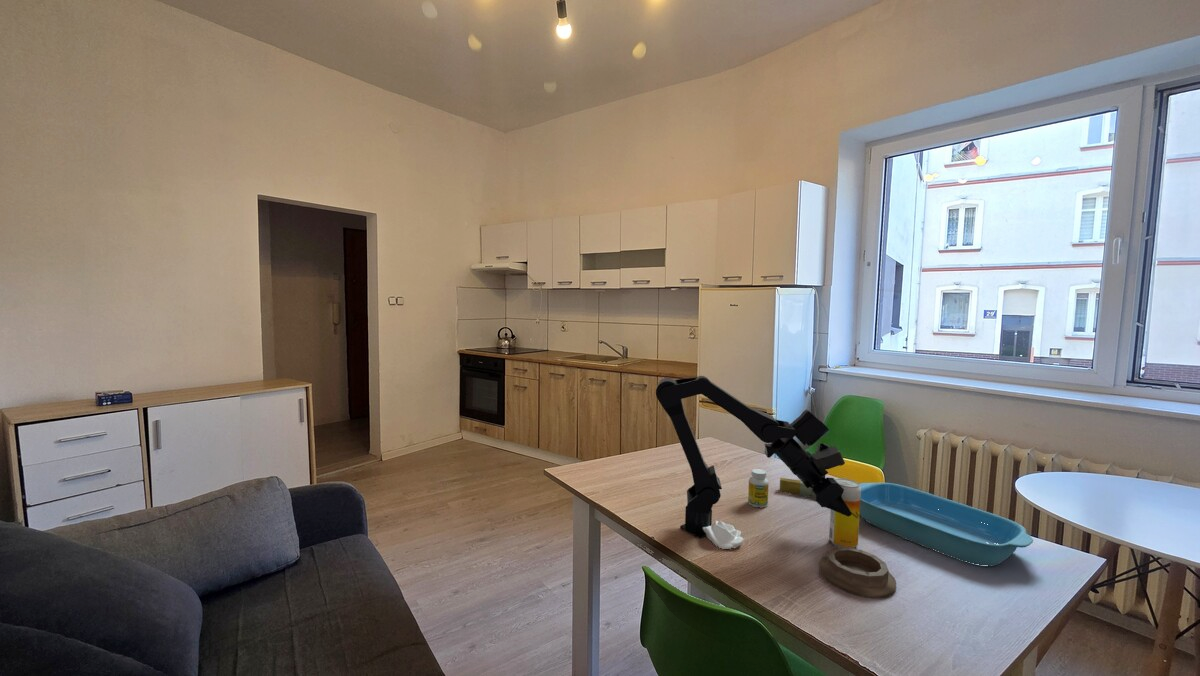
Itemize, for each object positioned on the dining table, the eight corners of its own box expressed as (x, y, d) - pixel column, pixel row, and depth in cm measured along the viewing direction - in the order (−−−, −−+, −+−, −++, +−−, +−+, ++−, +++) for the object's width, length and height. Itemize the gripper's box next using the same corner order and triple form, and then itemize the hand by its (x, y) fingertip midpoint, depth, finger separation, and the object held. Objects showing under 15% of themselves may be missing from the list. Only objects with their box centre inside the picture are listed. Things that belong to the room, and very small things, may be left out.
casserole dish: (1044, 557, 106) (1046, 527, 105) (1010, 587, 94) (1013, 553, 93) (876, 499, 137) (878, 476, 136) (834, 516, 124) (836, 491, 124)
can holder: (878, 607, 86) (880, 589, 86) (806, 572, 97) (807, 556, 97) (907, 581, 95) (908, 564, 94) (837, 552, 106) (838, 537, 105)
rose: (695, 523, 109) (710, 509, 117) (694, 541, 109) (709, 525, 117) (737, 536, 103) (750, 520, 111) (736, 555, 104) (749, 538, 111)
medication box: (822, 496, 138) (823, 483, 138) (822, 499, 135) (823, 486, 135) (779, 489, 143) (780, 476, 143) (779, 492, 140) (779, 479, 140)
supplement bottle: (762, 499, 134) (763, 467, 133) (771, 507, 129) (772, 474, 128) (744, 500, 133) (745, 468, 133) (753, 508, 128) (754, 475, 127)
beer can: (863, 550, 106) (866, 487, 105) (836, 550, 107) (840, 487, 106) (849, 537, 112) (852, 478, 112) (824, 537, 113) (827, 477, 112)
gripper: (835, 447, 100) (888, 501, 99) (810, 426, 118) (855, 471, 117) (795, 480, 101) (847, 533, 100) (777, 454, 120) (820, 498, 119)
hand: (843, 506), depth 109 cm, fingers open, 9 cm apart
